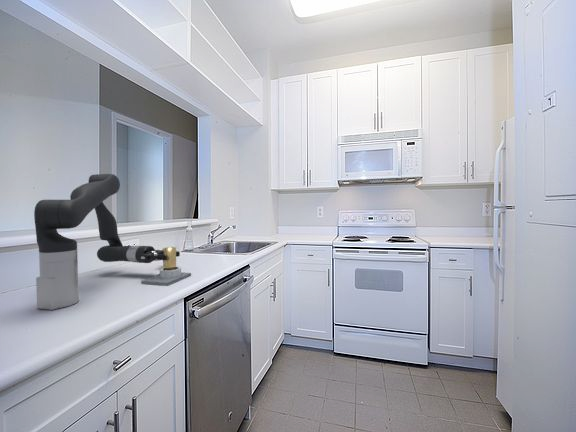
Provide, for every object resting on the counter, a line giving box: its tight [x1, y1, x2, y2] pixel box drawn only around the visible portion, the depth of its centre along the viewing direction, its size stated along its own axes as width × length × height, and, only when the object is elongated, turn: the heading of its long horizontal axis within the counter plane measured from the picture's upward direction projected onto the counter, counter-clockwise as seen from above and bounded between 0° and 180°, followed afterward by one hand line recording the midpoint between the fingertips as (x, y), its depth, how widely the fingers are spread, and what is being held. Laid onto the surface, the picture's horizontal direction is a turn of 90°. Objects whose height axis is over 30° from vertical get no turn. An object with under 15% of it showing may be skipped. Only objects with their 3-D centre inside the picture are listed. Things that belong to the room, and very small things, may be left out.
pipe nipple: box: [163, 246, 177, 270], centre depth 116 cm, size 5×5×12 cm
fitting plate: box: [141, 266, 192, 287], centre depth 114 cm, size 16×12×4 cm
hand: (173, 255), depth 116 cm, fingers open, 8 cm apart
